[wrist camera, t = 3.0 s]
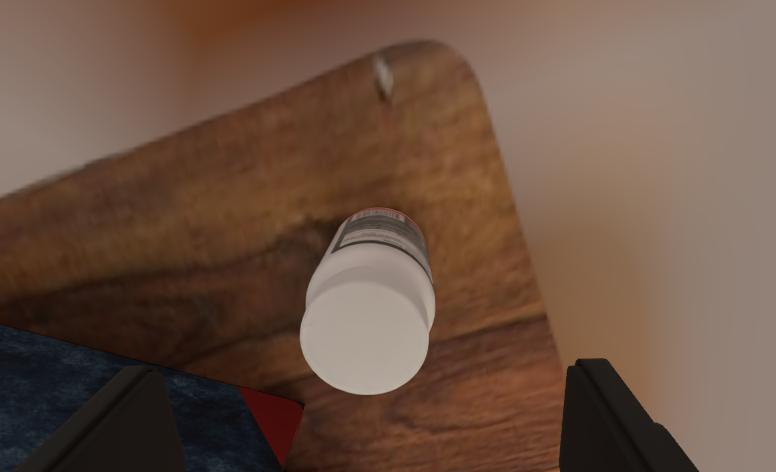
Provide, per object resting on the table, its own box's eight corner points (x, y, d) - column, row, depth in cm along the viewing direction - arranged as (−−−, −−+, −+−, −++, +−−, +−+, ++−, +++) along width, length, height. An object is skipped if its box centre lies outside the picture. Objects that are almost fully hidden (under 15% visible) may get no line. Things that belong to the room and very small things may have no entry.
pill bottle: (382, 311, 22) (367, 433, 14) (313, 252, 21) (255, 344, 13) (448, 250, 21) (474, 344, 13) (377, 184, 20) (358, 240, 12)
